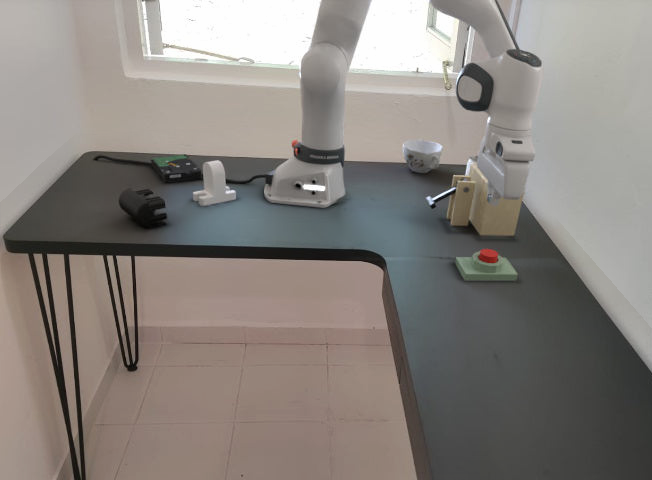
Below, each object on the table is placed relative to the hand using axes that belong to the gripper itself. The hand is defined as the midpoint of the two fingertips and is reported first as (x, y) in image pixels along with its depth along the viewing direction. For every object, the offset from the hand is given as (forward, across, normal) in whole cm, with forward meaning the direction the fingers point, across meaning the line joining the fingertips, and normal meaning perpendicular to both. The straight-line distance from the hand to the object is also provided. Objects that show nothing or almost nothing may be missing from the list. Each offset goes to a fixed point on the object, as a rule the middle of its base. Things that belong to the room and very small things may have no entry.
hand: (491, 203), depth 127 cm
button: (+13, +2, +1) cm, 13 cm away
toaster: (+16, -23, +9) cm, 30 cm away
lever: (+8, -23, -2) cm, 25 cm away
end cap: (+17, -21, -76) cm, 81 cm away
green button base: (+16, +2, +1) cm, 16 cm away
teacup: (+16, -65, 0) cm, 67 cm away
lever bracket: (+16, -23, +1) cm, 28 cm away
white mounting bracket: (+17, -36, -61) cm, 73 cm away
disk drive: (+17, -55, -73) cm, 94 cm away
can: (+16, -42, +11) cm, 47 cm away
